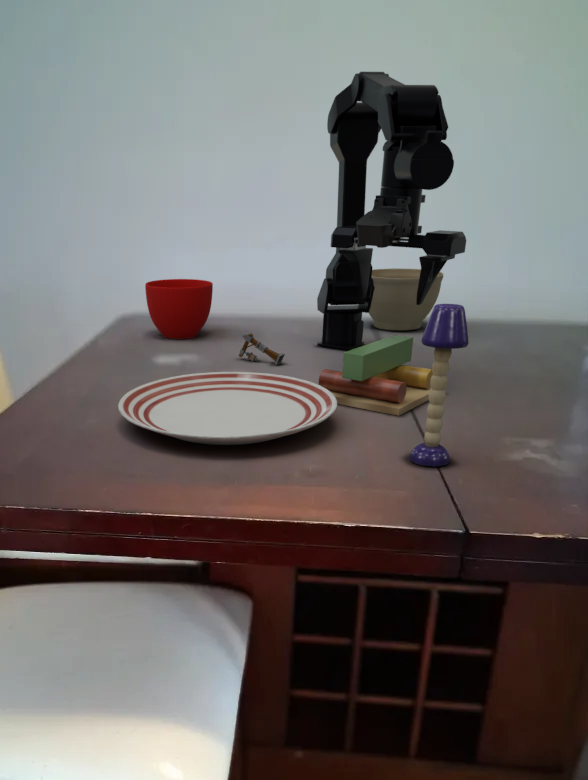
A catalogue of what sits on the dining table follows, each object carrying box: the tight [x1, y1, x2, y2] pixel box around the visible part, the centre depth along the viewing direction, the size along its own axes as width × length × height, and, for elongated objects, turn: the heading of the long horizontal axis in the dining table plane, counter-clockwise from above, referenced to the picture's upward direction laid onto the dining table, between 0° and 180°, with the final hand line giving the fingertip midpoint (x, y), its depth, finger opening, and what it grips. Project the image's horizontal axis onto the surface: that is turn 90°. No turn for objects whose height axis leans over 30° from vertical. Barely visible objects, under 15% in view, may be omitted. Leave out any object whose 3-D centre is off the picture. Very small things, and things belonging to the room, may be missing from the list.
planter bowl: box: [368, 267, 444, 331], centre depth 151 cm, size 16×16×11 cm
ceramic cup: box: [144, 278, 214, 340], centre depth 146 cm, size 13×17×10 cm
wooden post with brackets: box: [238, 332, 286, 366], centre depth 125 cm, size 2×8×4 cm, turn 58°
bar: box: [342, 334, 414, 381], centre depth 104 cm, size 3×15×4 cm, turn 141°
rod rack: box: [318, 364, 433, 417], centre depth 105 cm, size 14×14×4 cm
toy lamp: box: [409, 303, 469, 467], centre depth 79 cm, size 5×5×17 cm
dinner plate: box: [117, 371, 338, 446], centre depth 94 cm, size 27×27×3 cm
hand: (390, 301), depth 111 cm, fingers open, 9 cm apart
